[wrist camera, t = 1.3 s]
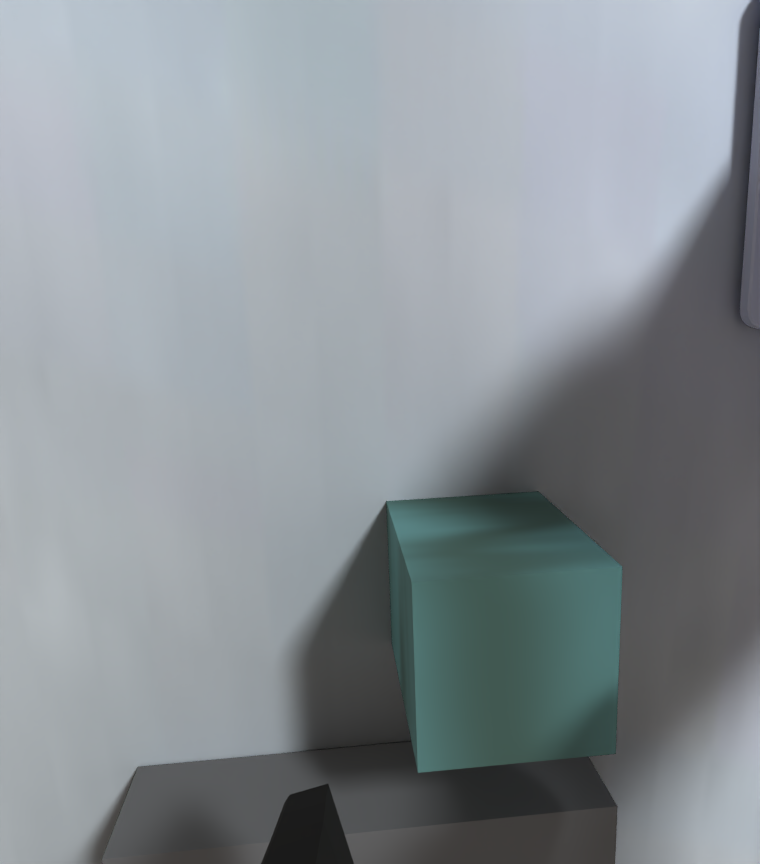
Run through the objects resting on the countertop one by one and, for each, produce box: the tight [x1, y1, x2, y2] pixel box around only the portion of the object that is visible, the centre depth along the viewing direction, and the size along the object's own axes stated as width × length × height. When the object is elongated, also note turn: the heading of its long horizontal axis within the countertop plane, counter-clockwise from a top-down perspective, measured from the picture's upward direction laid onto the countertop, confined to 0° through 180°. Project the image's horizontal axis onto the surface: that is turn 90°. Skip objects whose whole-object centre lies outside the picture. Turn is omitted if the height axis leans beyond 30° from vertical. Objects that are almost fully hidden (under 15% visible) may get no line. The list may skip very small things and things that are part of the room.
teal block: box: [386, 491, 622, 773], centre depth 15 cm, size 4×4×5 cm
